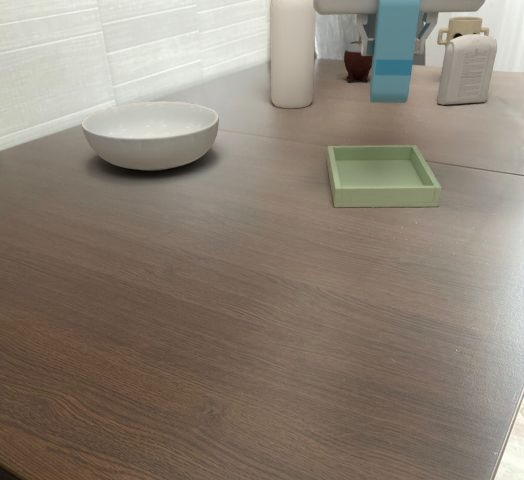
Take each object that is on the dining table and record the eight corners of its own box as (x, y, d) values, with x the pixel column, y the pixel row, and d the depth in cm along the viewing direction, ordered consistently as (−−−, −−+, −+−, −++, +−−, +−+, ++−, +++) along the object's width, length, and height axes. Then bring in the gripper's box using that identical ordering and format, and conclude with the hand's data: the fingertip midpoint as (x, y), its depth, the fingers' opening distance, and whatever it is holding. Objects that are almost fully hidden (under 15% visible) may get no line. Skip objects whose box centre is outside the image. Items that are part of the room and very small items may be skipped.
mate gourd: (355, 76, 137) (360, 5, 128) (381, 80, 132) (388, 7, 123) (335, 80, 133) (339, 8, 124) (361, 85, 128) (366, 10, 119)
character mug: (433, 86, 126) (443, 20, 118) (428, 79, 132) (438, 16, 124) (482, 86, 125) (495, 20, 117) (475, 79, 131) (488, 16, 123)
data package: (407, 106, 67) (422, -11, 60) (369, 105, 68) (380, -11, 61) (403, 84, 77) (415, -20, 70) (370, 83, 77) (379, -19, 70)
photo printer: (478, 98, 117) (491, 31, 109) (489, 103, 114) (503, 34, 106) (433, 101, 115) (443, 34, 108) (442, 106, 112) (454, 37, 105)
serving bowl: (145, 196, 77) (138, 146, 73) (65, 165, 89) (54, 120, 85) (248, 158, 89) (246, 113, 85) (165, 135, 101) (160, 94, 97)
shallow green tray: (413, 161, 86) (416, 144, 85) (438, 206, 72) (441, 187, 71) (326, 162, 87) (327, 145, 85) (334, 207, 73) (335, 188, 71)
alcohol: (314, 99, 120) (320, -76, 101) (310, 109, 113) (315, -77, 94) (274, 98, 121) (273, -75, 103) (268, 108, 114) (265, -75, 96)
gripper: (493, -87, 63) (468, 49, 72) (314, -82, 64) (310, 51, 73) (510, -88, 58) (481, 58, 67) (316, -83, 59) (312, 61, 68)
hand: (391, 54), depth 70 cm, fingers closed on data package, 5 cm apart
